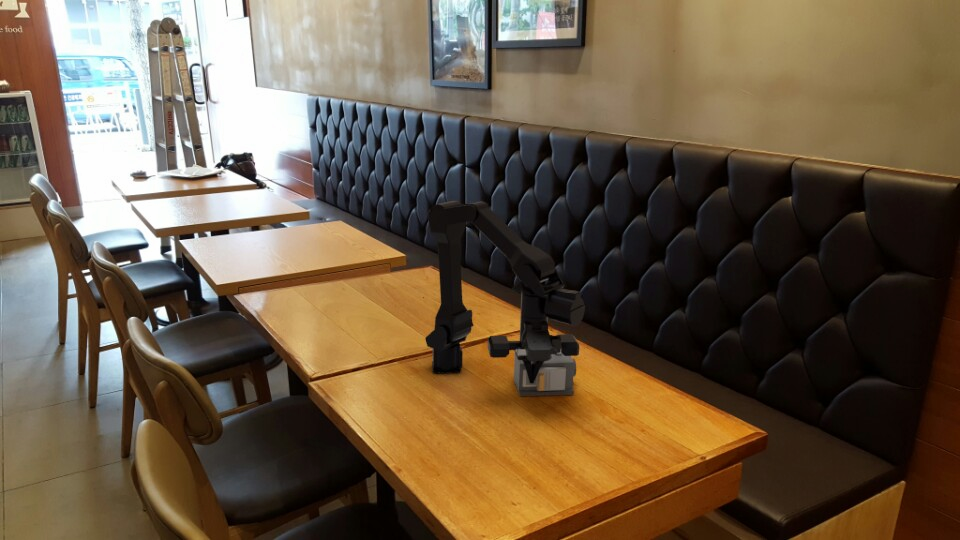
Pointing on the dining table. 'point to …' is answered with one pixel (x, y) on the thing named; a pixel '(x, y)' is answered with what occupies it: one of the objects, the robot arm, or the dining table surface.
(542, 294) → the robot arm
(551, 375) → the side door
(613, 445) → the dining table surface
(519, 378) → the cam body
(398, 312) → the dining table surface
